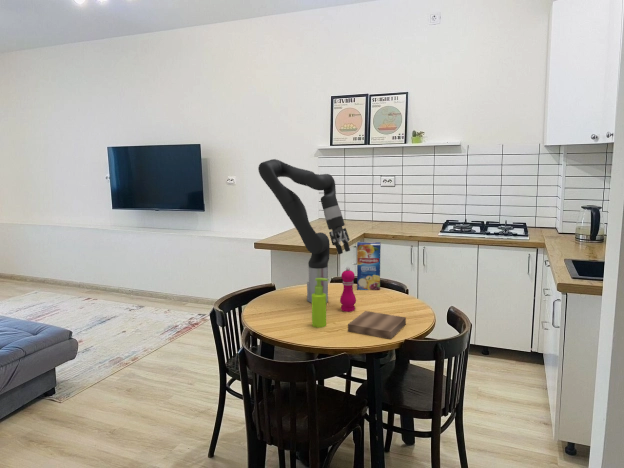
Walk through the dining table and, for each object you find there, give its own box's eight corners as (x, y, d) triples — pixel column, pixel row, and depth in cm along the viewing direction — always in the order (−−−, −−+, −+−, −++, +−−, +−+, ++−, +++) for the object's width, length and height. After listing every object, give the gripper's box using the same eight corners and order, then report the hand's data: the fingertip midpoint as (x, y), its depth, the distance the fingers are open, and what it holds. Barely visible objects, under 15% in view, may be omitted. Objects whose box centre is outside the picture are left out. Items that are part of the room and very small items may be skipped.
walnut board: (347, 331, 187) (347, 324, 186) (365, 317, 202) (365, 310, 202) (390, 339, 178) (391, 331, 178) (405, 324, 194) (405, 317, 193)
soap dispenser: (327, 328, 190) (327, 280, 187) (310, 327, 192) (310, 279, 188) (329, 323, 196) (329, 276, 193) (313, 322, 197) (313, 276, 194)
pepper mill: (358, 308, 214) (358, 266, 211) (352, 313, 208) (352, 269, 205) (343, 306, 217) (343, 264, 214) (337, 311, 211) (337, 268, 208)
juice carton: (356, 289, 244) (357, 244, 240) (357, 285, 251) (357, 242, 247) (380, 290, 243) (380, 245, 239) (379, 286, 250) (380, 242, 246)
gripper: (332, 218, 215) (343, 252, 214) (319, 221, 202) (330, 256, 202) (347, 214, 212) (357, 248, 211) (334, 216, 199) (345, 252, 198)
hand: (344, 252), depth 206 cm, fingers open, 8 cm apart
